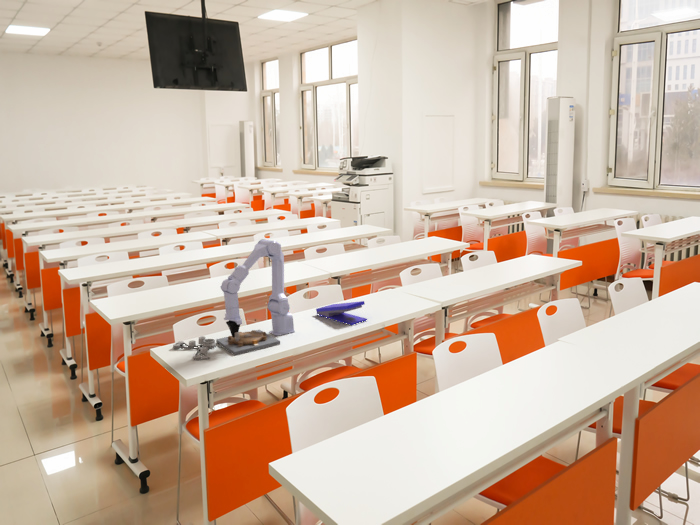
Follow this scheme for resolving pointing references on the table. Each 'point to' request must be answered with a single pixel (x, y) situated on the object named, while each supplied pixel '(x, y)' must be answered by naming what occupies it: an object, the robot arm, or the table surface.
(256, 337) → the brown flat round piece
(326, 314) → the stapler
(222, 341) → the board
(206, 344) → the pulley system
